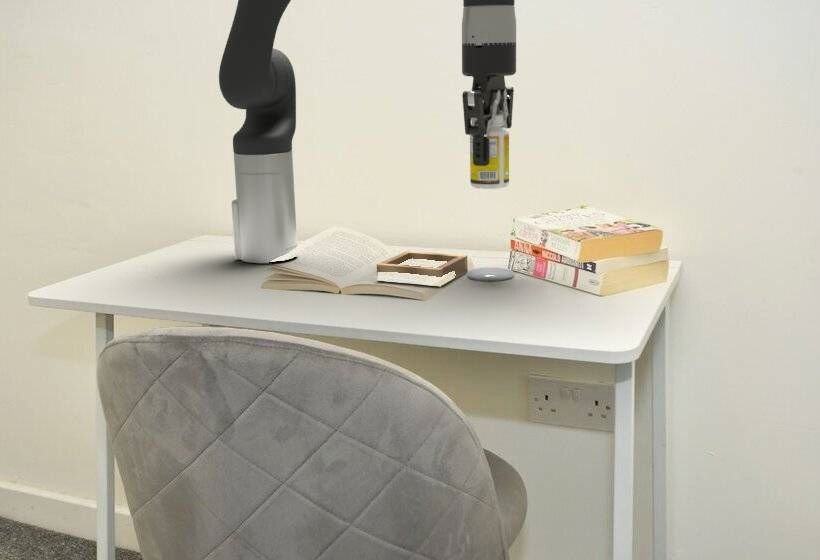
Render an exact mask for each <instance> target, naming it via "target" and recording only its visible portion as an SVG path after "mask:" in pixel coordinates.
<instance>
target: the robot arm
mask: <svg viewBox="0 0 820 560" xmlns="http://www.w3.org/2000/svg"><path fill="white" fill-rule="evenodd" d="M291 1H292V0H237V5H236V9H235V13H234V16H233V21H232V24H231V27H230V31H229V34H228V37H227V40H226V44H225V47H224V50H223V54H222V57H221V62H220V64H219V71H218V83H219V90H220V91H221V95H222V97H223V99H224V100H225V101H226V102H227V103H228V104H229V105H230V106H231V107H233V108H235V109H238V110H245V119H244V122H243V124H242V126H241V127H240V128H239V130H238V131H236V132H235V134H233V136H232V137H233V138H232V151H233V163H234V164H233V165H234V166H233V167H234V176H235V177H234V178H235V180H234V181H235V193H236V199H233V200H232V201H231V216H232V228H233V229H232V230H233V232H232V233H233V243H234V247H233V248H234V258H235V260H241V261H242V262H246V263H250V264H251V263H252V264H253V263H254V264H270V263H269V262H270V261H272V260H274V259H276V258H278V257H280V256H283V255H285V254H287V253H289V252H290V251H292V250H293V249H295V248H296V247H297V248H298V241H297V240H298V239H297V219H296V218H297V217H296V200H295V199H296V198H295V182H294V181H295V179H294V178H295V177H294V161H293V138H294V136H295V132H296V130H297V129H296V128H297V85H296V75H295V70H294V68H293V65H292V62H291V61H290V59H289V57H288V56H287V55H286V54H285V53H284V52H283V51H281V50H279V49H277V48H274V44H275V38H276V36H277V35H276V34H277V31H278V27H279V24H280V21H281V19H282V17H283V15H284V13H285V11H286V10H287V7H288V6H289V4H290V3H291ZM462 1H463V2H462V3H463V5H462V6H463V8H462V11H463V12H462V19H461V73H462V75H463V76H464V77H472V86H471V90H466V91H465V90H464V91H463V92H462V109H463V121H464V122H463V123H464V133H465V135H468V136H469V138H470V137H471V138H473V164H474V165H476V166H486V165H488V164H489V139H486V138H489V135H490V128H491V124H492V123H494V121H495V117H496V114H502V115H503V121H504V123H503V126H502V128H506V129H511V128H512V126H513V125H512V122H513V121H512V120H513V108H514V93H515V92H514V91H515V90H514V87H513V86H507V85H506V80H505V76H507V77H508V76H513V75H516V72H517V19H516V10H515V0H462ZM484 123H485V125H484Z"/></svg>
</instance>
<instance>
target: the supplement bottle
mask: <svg viewBox="0 0 820 560" xmlns="http://www.w3.org/2000/svg"><path fill="white" fill-rule="evenodd" d="M503 123H504V121H503V115H502V114H496V117H495V121H494V123H492V124H491V128H490V135H489V138H486V139H489V164H488V165H486V166H476V165H474V164H473V138H471V137H470V136H469V154H470V155H469V163H470V165H469V167H470V170H469V173H470V175H469V176H470V177H469V178H470V181H469V182H470V185H471V187H472V188H475V189H481V190H498V189H503V188H506V187H508V186H509V184H510V132H509V128H507V129H506V128H502V126H503ZM484 125H485V123H484Z"/></svg>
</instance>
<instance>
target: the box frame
mask: <svg viewBox="0 0 820 560" xmlns="http://www.w3.org/2000/svg"><path fill="white" fill-rule="evenodd" d="M412 258H413V259H427V260H435V261H447V263H445V264H443V265H441V266H439V267H437V268H433V267H421V266H409V265H398V264H400V263H402V262H404V261H406V260H408V259H412ZM468 269H469V267H468V255H464V254H453V253H452V254H450V253H440V252H439V253H438V252H437V253H435V252H423V251H413V250H412V251H411V250H406V251H403V252H402V253H399V254H397V255H395V256H392V257H390V258H388V259H386V260H383V261H381V262H379V263H377V264H376V273H377V272H398V273H410V274H419V275H428V276H436V277H442V276H443V275H445V274H448V273H449V272H452V271H455V274H456V276H455V275H454V276H455V278H456V279H457V278H460V277H461V276H463V275H464V274H465V275H466V272H467V271H469V270H468Z"/></svg>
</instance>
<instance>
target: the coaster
mask: <svg viewBox="0 0 820 560" xmlns="http://www.w3.org/2000/svg"><path fill="white" fill-rule="evenodd" d="M465 275H466V278H468V279H470V280H474V281H480V282H500V281H507V280H510V279H513V278H514V277H515V271H513V270H511V269H507V268H503V267H502V268H501V267H477V268H473V269H470V270H468V271H467V272H466V273H465Z"/></svg>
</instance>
